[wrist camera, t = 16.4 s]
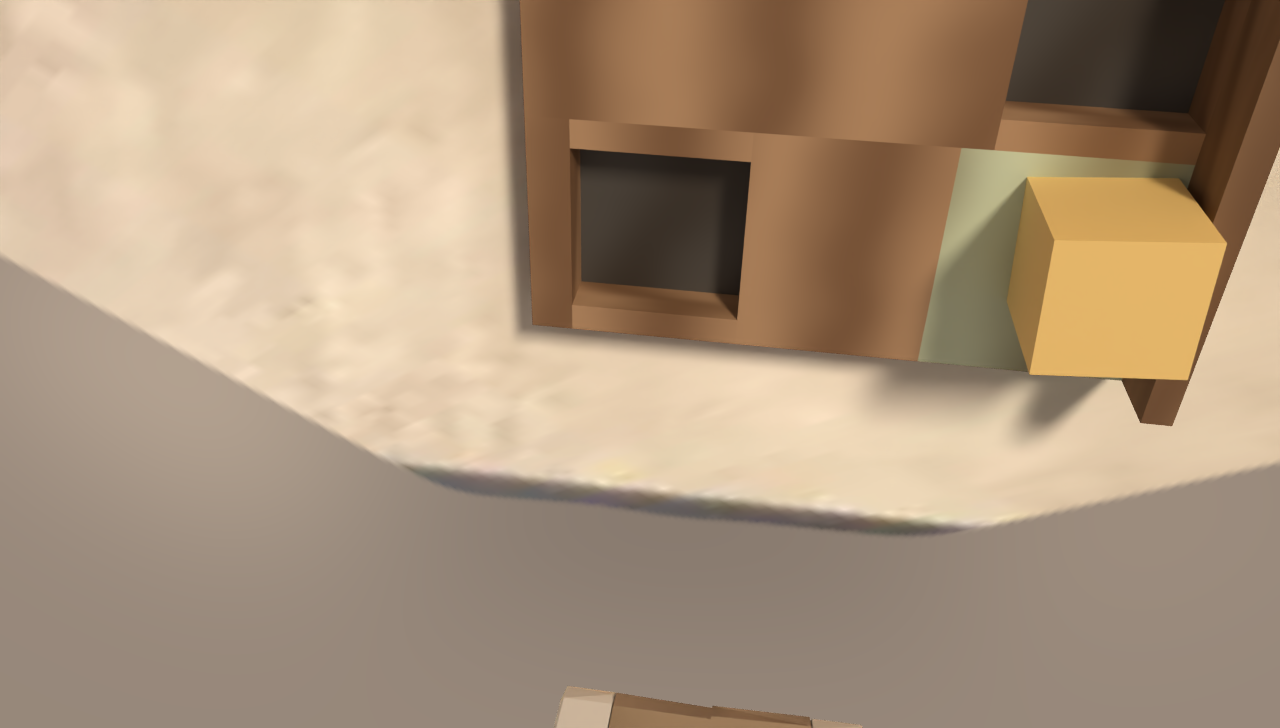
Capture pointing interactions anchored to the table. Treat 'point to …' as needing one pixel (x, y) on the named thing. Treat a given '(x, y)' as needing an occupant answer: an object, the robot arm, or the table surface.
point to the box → (867, 159)
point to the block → (1112, 277)
